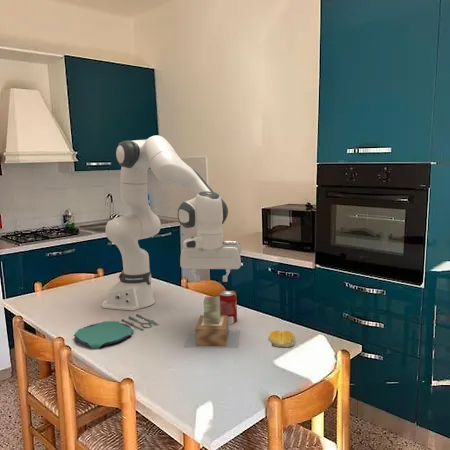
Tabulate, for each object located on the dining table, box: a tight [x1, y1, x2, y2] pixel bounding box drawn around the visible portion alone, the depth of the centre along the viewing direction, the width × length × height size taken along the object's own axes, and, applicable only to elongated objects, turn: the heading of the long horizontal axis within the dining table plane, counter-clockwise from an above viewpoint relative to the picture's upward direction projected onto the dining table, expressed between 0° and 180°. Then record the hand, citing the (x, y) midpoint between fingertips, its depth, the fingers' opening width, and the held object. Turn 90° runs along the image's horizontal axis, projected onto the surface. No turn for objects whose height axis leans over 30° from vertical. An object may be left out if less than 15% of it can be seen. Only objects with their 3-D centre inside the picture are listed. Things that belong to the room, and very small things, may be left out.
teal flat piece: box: [73, 313, 160, 350], centre depth 159 cm, size 20×30×2 cm, turn 135°
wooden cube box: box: [194, 314, 230, 346], centre depth 149 cm, size 10×12×6 cm
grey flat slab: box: [183, 329, 241, 349], centre depth 150 cm, size 18×14×1 cm
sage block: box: [202, 296, 220, 324], centre depth 148 cm, size 5×5×8 cm
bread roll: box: [267, 330, 296, 348], centre depth 147 cm, size 8×9×4 cm
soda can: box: [218, 290, 238, 325], centre depth 164 cm, size 7×7×12 cm
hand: (211, 281), depth 146 cm, fingers open, 8 cm apart
